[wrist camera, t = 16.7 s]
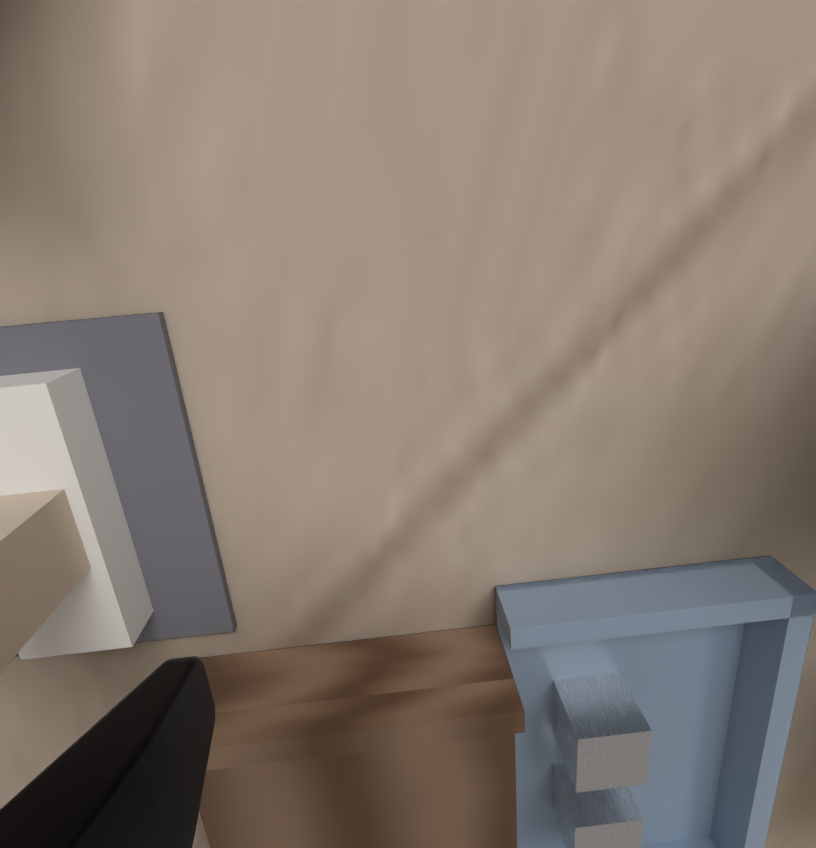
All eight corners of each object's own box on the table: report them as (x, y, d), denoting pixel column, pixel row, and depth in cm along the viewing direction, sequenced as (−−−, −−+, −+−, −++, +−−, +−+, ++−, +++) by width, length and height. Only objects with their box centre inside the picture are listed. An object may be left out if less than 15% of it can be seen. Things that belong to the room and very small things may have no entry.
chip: (553, 679, 24) (618, 672, 24) (552, 729, 25) (615, 722, 25) (577, 739, 21) (652, 730, 21) (576, 793, 22) (646, 784, 22)
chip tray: (770, 555, 23) (818, 593, 20) (721, 837, 29) (754, 893, 26) (495, 586, 22) (510, 628, 20) (504, 866, 28) (516, 925, 26)
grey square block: (552, 762, 25) (613, 755, 26) (551, 806, 26) (610, 798, 27) (575, 828, 23) (643, 819, 23) (573, 873, 24) (639, 865, 24)
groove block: (496, 624, 23) (524, 711, 19) (503, 840, 28) (527, 949, 23) (196, 658, 23) (155, 755, 18) (254, 872, 27) (233, 989, 23)
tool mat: (162, 311, 18) (158, 313, 17) (236, 625, 22) (234, 631, 22) (-143, 339, 17) (-155, 342, 17) (-8, 651, 22) (-14, 659, 21)
